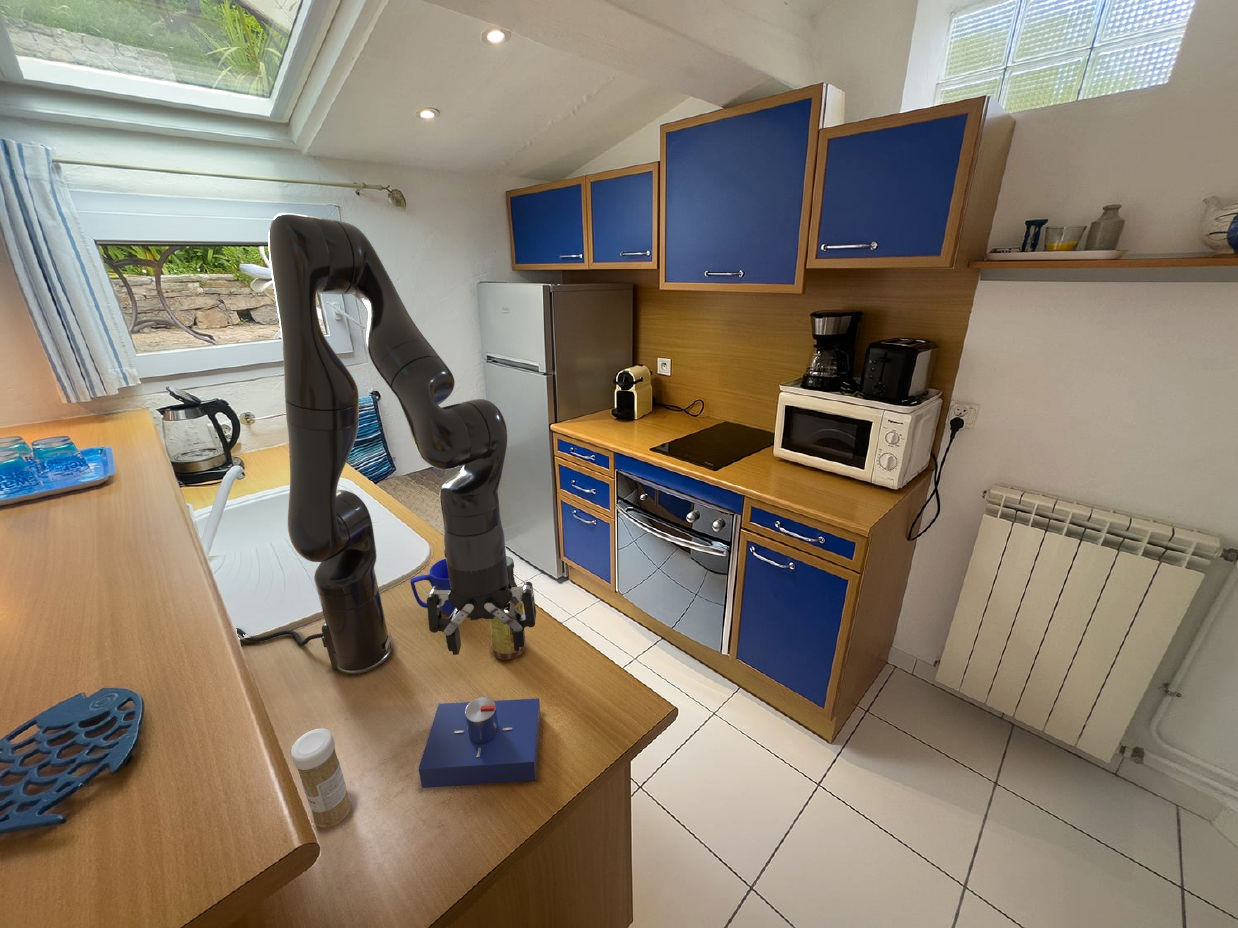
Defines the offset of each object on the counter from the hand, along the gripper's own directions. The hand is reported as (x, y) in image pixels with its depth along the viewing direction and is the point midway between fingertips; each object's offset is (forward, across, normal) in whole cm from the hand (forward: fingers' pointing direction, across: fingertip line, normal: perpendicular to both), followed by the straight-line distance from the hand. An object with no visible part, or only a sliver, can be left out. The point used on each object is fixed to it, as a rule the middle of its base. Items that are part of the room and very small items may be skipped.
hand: (487, 648), depth 71 cm
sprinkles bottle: (+18, +21, +10) cm, 29 cm away
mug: (+18, +15, -32) cm, 40 cm away
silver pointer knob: (+14, +2, +2) cm, 14 cm away
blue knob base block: (+18, +2, +2) cm, 18 cm away
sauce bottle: (+18, 0, -19) cm, 27 cm away
